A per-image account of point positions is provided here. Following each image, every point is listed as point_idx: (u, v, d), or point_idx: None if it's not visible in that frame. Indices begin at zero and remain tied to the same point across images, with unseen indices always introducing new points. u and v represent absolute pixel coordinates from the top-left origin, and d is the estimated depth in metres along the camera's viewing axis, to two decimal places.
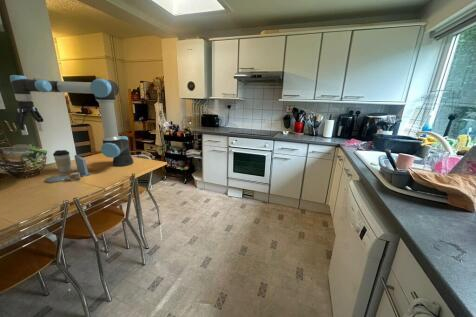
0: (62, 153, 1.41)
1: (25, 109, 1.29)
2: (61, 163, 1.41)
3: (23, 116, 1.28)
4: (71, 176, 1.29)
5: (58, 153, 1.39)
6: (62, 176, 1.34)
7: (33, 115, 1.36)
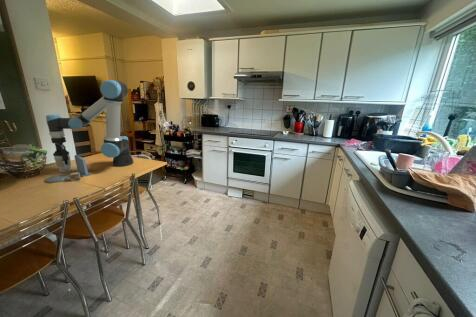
0: None
1: None
2: (61, 163, 1.42)
3: None
4: (71, 176, 1.29)
5: (58, 153, 1.39)
6: (62, 176, 1.34)
7: None
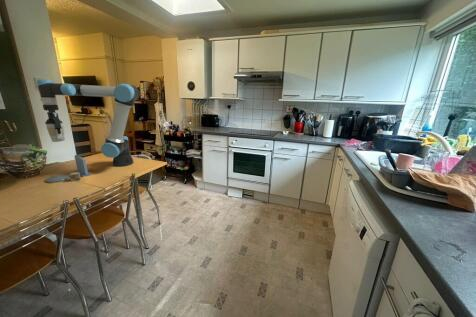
0: None
1: None
2: (54, 132, 1.35)
3: None
4: (71, 176, 1.29)
5: (50, 121, 1.33)
6: (62, 176, 1.34)
7: None
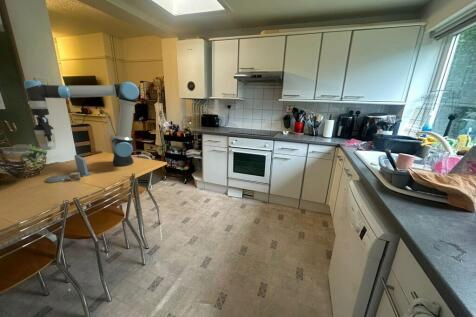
0: None
1: None
2: (43, 139, 1.20)
3: None
4: (71, 176, 1.29)
5: (39, 127, 1.18)
6: (62, 176, 1.34)
7: None
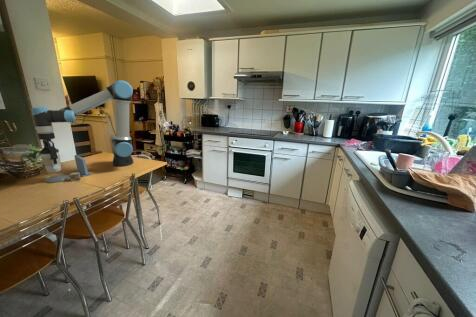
0: None
1: None
2: (49, 162, 1.24)
3: None
4: (71, 176, 1.29)
5: (45, 151, 1.22)
6: (62, 176, 1.34)
7: None
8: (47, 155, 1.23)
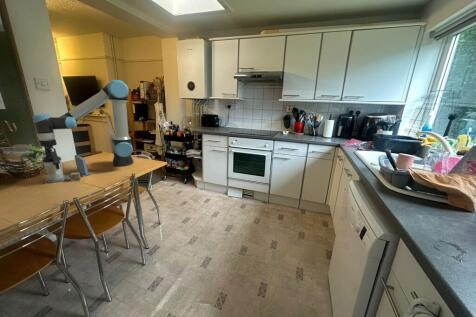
0: None
1: None
2: (52, 170, 1.26)
3: None
4: (71, 176, 1.29)
5: (48, 159, 1.24)
6: None
7: None
8: (50, 163, 1.24)
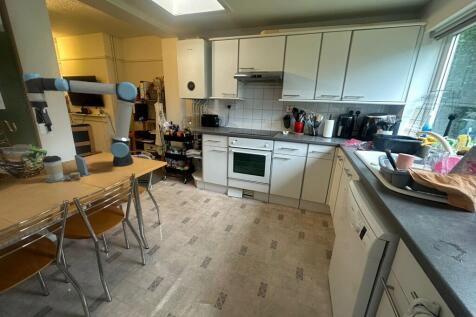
0: (53, 159, 1.25)
1: None
2: (52, 170, 1.26)
3: None
4: (71, 176, 1.29)
5: (48, 159, 1.24)
6: None
7: None
8: (50, 163, 1.24)
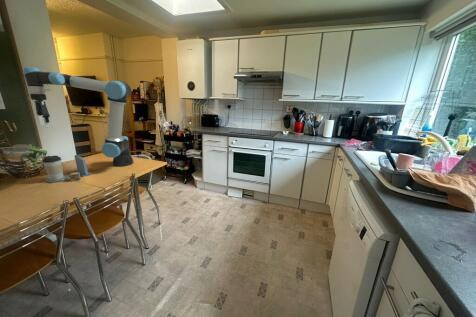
0: (53, 159, 1.25)
1: None
2: (52, 170, 1.26)
3: None
4: (71, 176, 1.29)
5: (48, 159, 1.24)
6: None
7: None
8: (50, 163, 1.24)
